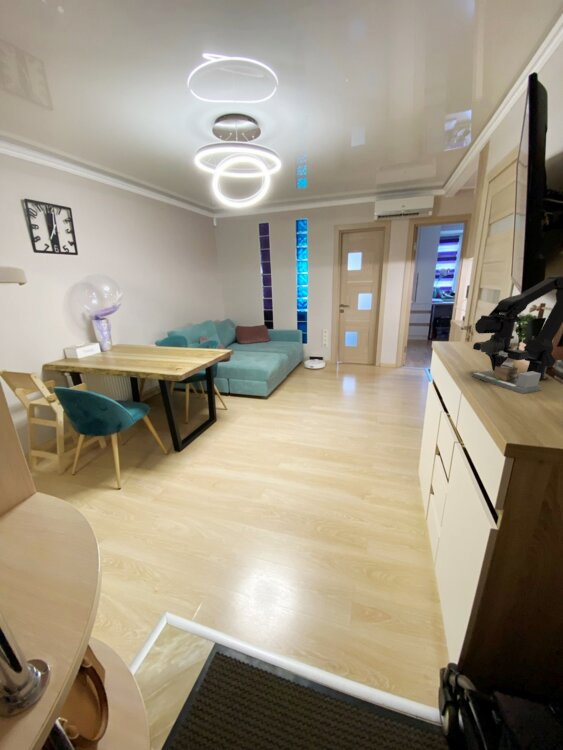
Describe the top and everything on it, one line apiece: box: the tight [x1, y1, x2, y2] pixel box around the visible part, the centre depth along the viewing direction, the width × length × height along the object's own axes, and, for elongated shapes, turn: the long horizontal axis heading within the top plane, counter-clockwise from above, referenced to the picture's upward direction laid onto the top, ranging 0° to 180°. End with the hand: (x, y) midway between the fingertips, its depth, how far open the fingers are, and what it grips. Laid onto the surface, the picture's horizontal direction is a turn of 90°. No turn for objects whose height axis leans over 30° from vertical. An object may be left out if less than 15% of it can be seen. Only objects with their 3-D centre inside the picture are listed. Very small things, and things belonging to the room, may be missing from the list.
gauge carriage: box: [493, 365, 519, 381], centre depth 119 cm, size 7×8×5 cm
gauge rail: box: [472, 370, 542, 395], centre depth 120 cm, size 10×20×6 cm, turn 21°
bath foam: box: [502, 322, 520, 367], centre depth 139 cm, size 7×7×20 cm
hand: (494, 371), depth 124 cm, fingers closed
